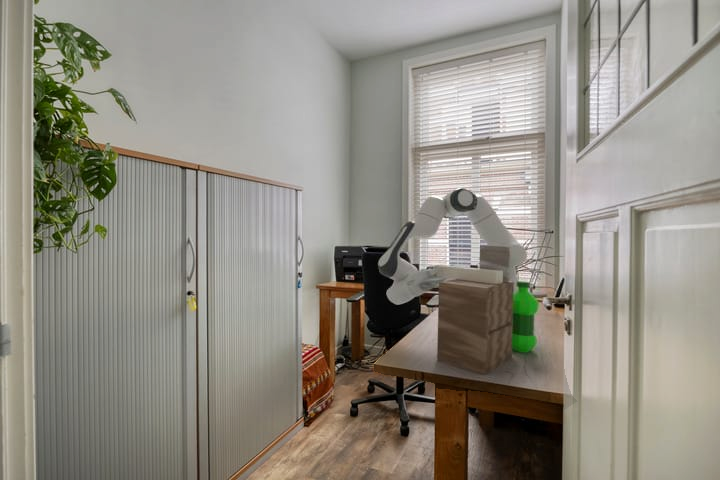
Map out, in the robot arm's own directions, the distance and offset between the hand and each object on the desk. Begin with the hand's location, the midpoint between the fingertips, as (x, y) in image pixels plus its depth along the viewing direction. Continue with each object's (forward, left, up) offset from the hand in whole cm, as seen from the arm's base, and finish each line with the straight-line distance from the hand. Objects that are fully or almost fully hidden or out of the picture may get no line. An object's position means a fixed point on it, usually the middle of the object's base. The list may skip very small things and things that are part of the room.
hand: (447, 267), depth 128 cm
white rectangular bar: (-1, +8, -3) cm, 9 cm away
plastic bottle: (-20, +18, -30) cm, 40 cm away
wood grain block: (+2, +14, -29) cm, 33 cm away
